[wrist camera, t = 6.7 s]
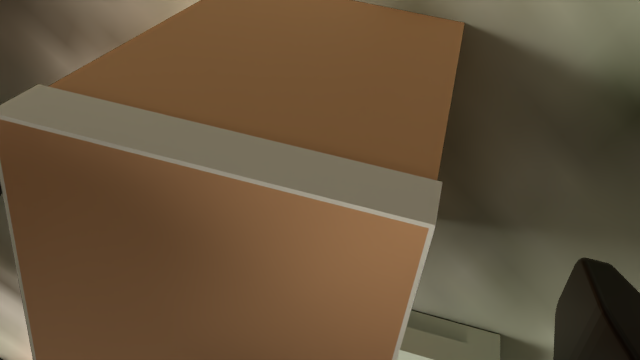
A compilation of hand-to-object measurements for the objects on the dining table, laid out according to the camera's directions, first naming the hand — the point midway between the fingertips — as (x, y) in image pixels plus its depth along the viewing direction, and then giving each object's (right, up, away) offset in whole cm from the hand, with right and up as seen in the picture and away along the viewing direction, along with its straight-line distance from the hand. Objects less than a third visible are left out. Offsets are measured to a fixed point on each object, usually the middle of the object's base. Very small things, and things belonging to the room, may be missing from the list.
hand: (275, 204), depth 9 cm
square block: (+1, +2, +4) cm, 4 cm away
